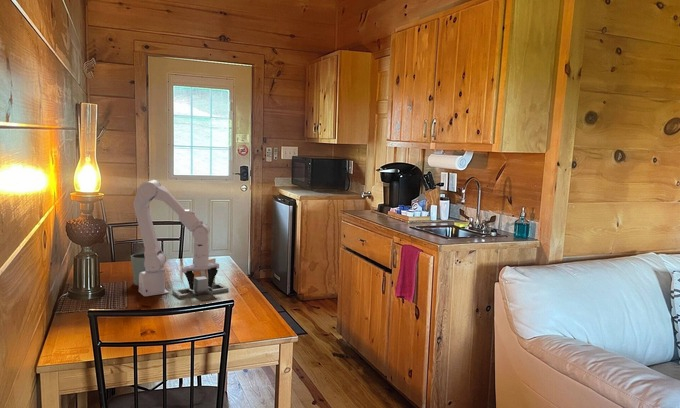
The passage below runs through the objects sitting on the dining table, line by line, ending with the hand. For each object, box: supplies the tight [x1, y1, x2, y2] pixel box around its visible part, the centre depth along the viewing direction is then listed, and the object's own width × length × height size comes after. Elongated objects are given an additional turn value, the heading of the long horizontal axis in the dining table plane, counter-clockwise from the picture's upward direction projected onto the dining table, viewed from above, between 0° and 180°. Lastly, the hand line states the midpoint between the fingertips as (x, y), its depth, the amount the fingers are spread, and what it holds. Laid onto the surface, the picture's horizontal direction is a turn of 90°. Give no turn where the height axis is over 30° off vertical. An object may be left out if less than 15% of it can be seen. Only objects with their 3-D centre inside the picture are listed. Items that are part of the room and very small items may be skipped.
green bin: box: [130, 252, 146, 287], centre depth 209 cm, size 10×10×12 cm
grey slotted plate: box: [171, 282, 230, 300], centre depth 200 cm, size 20×8×1 cm, turn 127°
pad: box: [195, 294, 218, 303], centre depth 193 cm, size 6×6×1 cm
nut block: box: [193, 276, 208, 292], centre depth 200 cm, size 4×4×6 cm
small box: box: [192, 256, 217, 283], centre depth 215 cm, size 8×6×10 cm
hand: (200, 287), depth 200 cm, fingers open, 7 cm apart
